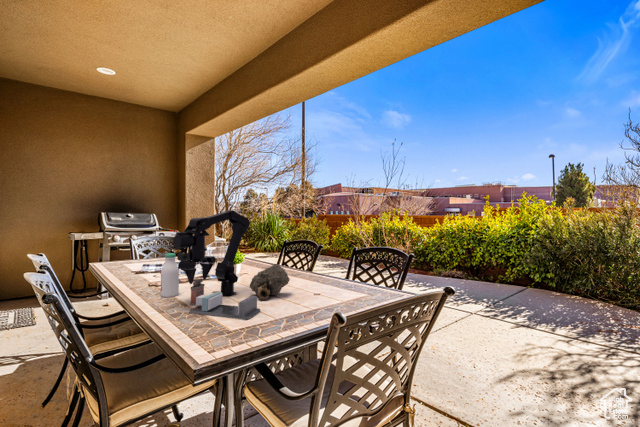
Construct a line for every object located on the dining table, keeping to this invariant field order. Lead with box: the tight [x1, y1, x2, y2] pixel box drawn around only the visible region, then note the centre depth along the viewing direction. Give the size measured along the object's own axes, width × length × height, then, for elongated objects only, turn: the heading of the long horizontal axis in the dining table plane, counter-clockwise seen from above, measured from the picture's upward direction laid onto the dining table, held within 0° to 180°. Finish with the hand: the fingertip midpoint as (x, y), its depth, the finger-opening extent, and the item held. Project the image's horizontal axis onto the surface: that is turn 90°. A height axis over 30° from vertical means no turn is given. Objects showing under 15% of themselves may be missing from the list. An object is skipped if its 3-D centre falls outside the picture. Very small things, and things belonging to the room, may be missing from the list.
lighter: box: [190, 278, 205, 306], centre depth 137 cm, size 8×3×10 cm, turn 168°
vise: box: [188, 295, 261, 321], centre depth 124 cm, size 10×26×6 cm, turn 75°
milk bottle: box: [160, 252, 180, 298], centre depth 148 cm, size 8×8×20 cm
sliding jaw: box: [195, 291, 223, 311], centre depth 126 cm, size 10×8×5 cm
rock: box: [249, 263, 291, 301], centre depth 147 cm, size 18×14×15 cm
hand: (197, 281), depth 137 cm, fingers open, 9 cm apart
